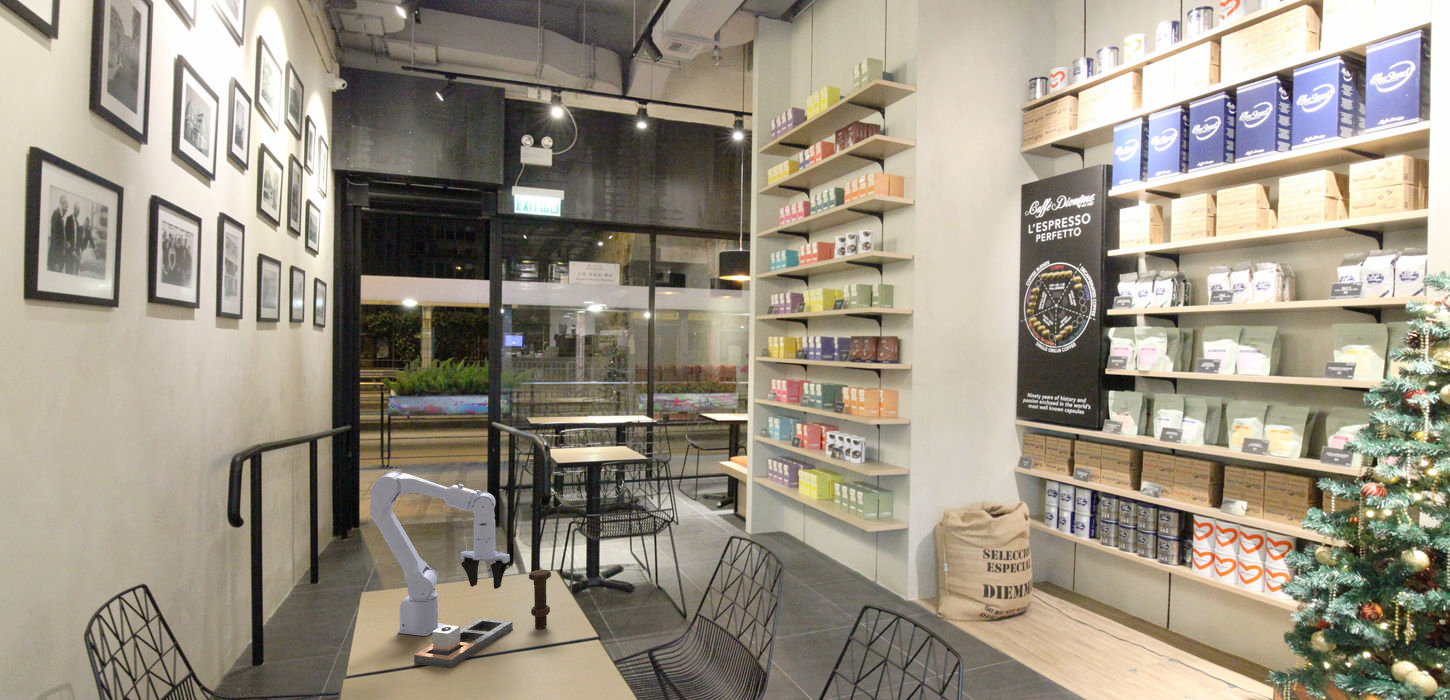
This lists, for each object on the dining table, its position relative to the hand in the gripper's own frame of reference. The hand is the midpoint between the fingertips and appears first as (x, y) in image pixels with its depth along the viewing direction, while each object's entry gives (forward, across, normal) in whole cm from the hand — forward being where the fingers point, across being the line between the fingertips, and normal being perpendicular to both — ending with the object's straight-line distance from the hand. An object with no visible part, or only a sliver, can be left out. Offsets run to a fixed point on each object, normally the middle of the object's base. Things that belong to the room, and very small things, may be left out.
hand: (485, 586), depth 202 cm
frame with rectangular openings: (+10, +4, -14) cm, 18 cm away
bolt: (+11, +16, +2) cm, 19 cm away
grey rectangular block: (+10, +4, -22) cm, 24 cm away
